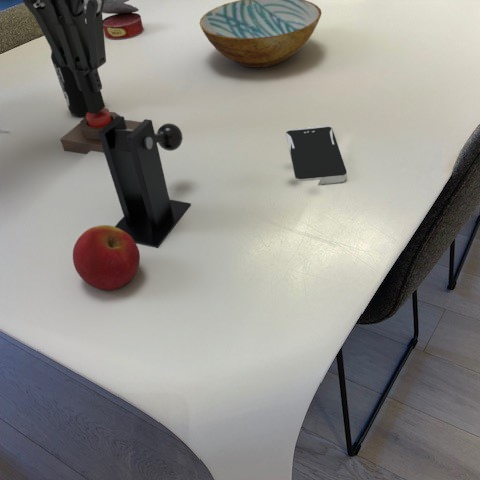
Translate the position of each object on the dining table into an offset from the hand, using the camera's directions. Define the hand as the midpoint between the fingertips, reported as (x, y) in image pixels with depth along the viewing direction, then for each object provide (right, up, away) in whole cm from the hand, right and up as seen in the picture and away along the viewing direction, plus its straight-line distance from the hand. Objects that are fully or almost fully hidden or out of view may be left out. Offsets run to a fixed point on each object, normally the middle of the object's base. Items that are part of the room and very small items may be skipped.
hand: (97, 109), depth 83 cm
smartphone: (+36, -10, -5) cm, 38 cm away
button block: (0, -4, +4) cm, 6 cm away
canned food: (-5, +38, +43) cm, 57 cm away
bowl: (+29, +22, +24) cm, 44 cm away
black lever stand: (+12, -22, -13) cm, 28 cm away
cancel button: (0, -2, +2) cm, 2 cm away
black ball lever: (+12, -13, -18) cm, 25 cm away
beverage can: (-6, +6, +14) cm, 16 cm away
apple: (+8, -31, -20) cm, 38 cm away
